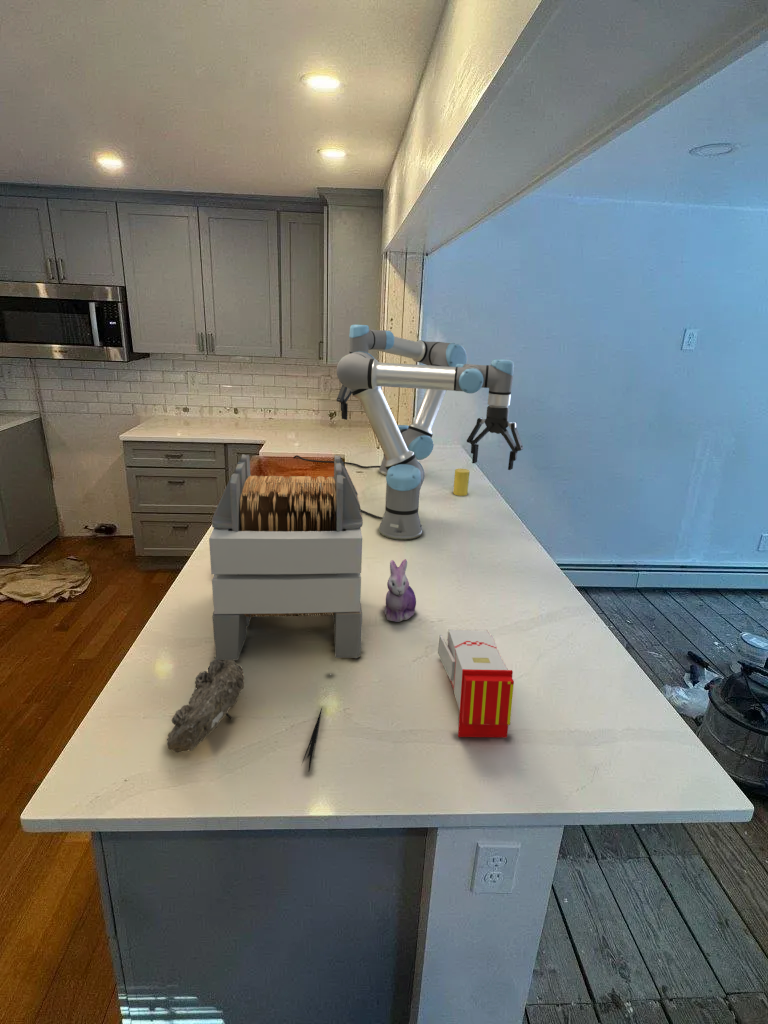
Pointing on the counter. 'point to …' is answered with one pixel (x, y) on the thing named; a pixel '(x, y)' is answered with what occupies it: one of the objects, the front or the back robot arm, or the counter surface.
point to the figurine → (399, 594)
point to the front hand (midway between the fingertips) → (492, 466)
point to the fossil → (206, 705)
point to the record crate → (286, 555)
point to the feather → (313, 740)
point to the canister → (461, 482)
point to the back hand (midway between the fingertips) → (356, 417)
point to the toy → (478, 682)
